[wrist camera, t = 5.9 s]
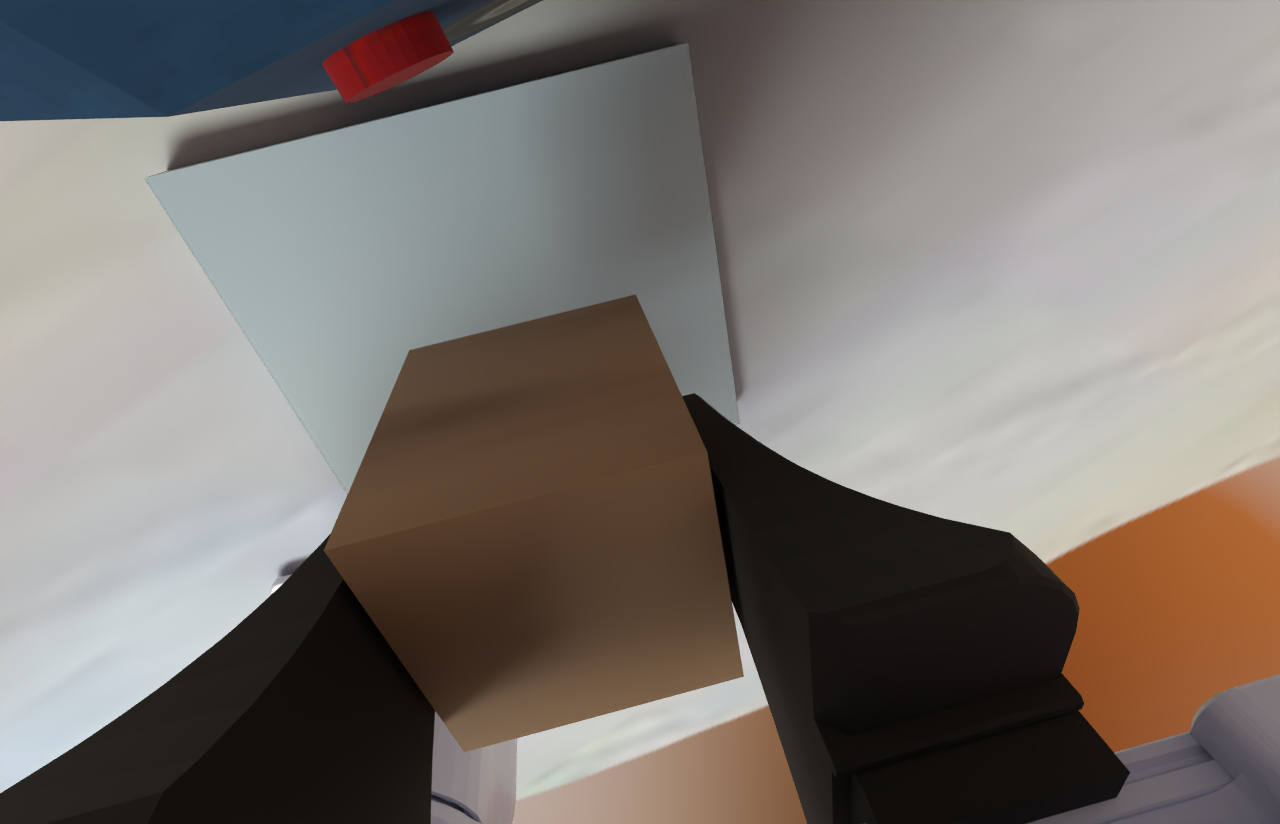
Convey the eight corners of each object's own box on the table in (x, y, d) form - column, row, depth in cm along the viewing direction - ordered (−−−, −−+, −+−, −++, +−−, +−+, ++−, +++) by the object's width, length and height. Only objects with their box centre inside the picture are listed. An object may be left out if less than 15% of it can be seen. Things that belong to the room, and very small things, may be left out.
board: (731, 409, 22) (739, 423, 21) (372, 505, 22) (365, 522, 21) (679, 43, 15) (688, 42, 15) (165, 171, 15) (143, 178, 14)
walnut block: (672, 471, 15) (743, 676, 10) (487, 519, 15) (463, 752, 10) (635, 294, 12) (707, 452, 7) (409, 350, 12) (323, 550, 7)
